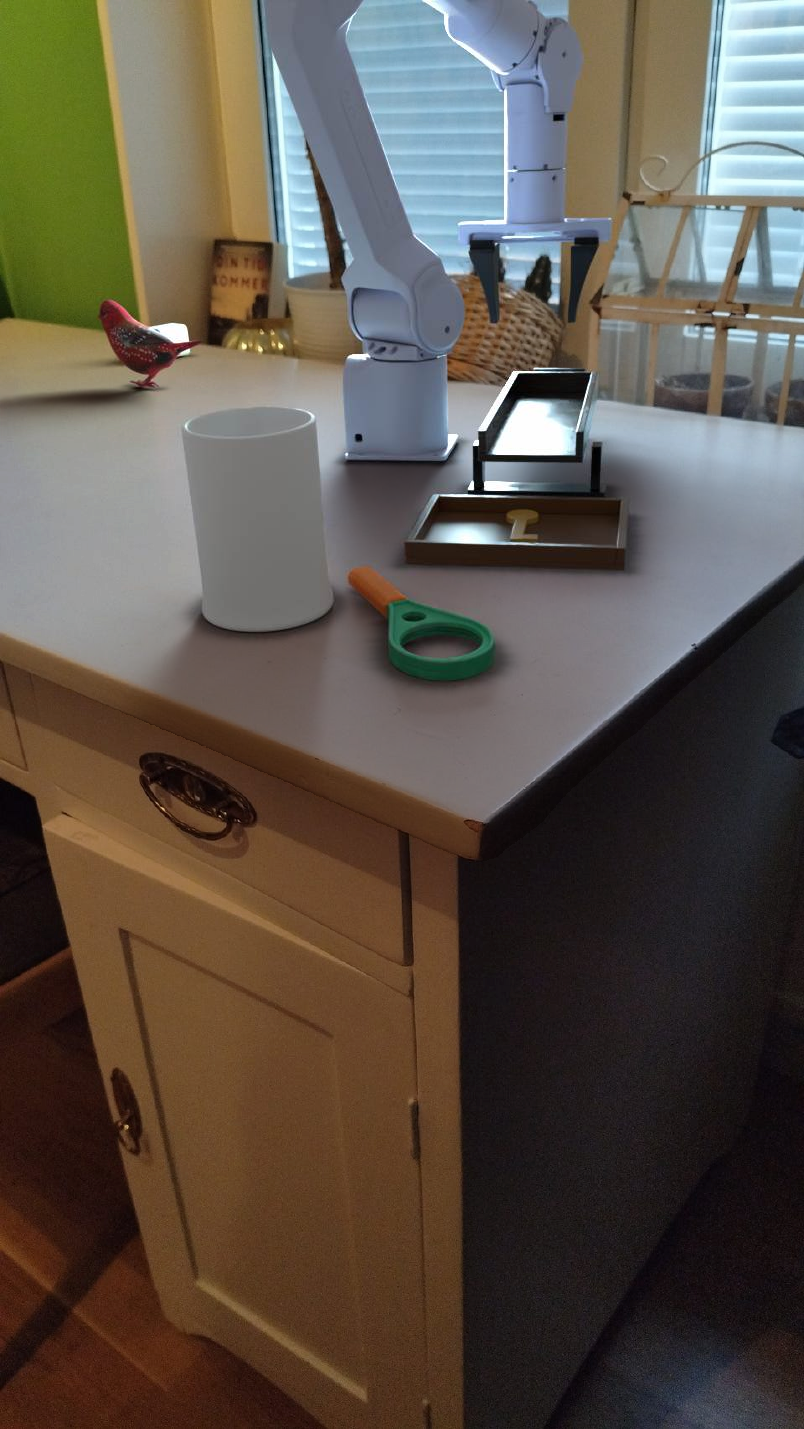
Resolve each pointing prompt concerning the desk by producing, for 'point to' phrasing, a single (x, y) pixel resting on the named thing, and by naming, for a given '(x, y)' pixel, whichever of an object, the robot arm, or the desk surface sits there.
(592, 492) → the stand
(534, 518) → the key
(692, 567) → the desk surface
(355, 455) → the robot arm
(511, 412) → the dark sloped chute
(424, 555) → the tray
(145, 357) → the decorative bird figurine
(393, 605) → the magnifying glass
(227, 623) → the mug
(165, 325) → the usb wall charger
